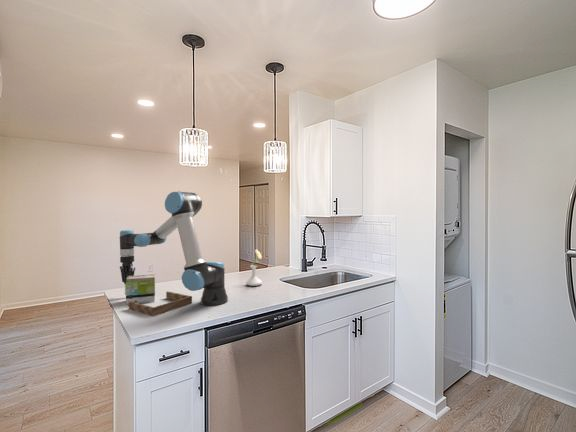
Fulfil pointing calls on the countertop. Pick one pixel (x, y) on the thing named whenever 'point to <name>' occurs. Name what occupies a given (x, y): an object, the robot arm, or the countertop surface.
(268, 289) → the countertop surface
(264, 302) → the countertop surface
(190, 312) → the countertop surface
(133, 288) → the tea box
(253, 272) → the flower in vase
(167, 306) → the walnut bay
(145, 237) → the robot arm
